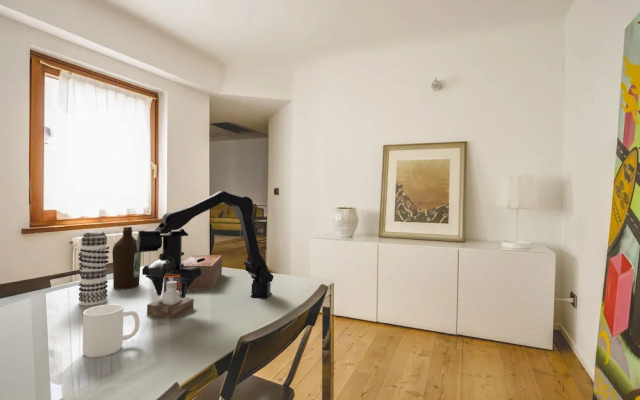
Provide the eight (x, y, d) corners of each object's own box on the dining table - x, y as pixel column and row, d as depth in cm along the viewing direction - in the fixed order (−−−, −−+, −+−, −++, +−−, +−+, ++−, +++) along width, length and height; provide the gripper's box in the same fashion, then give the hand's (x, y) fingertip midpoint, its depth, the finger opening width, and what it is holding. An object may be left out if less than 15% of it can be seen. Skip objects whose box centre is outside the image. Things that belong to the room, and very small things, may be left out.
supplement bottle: (173, 298, 125) (174, 268, 125) (160, 296, 126) (160, 267, 126) (183, 293, 131) (184, 265, 131) (170, 292, 132) (170, 264, 132)
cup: (83, 347, 83) (83, 307, 83) (137, 337, 90) (138, 300, 90) (81, 361, 76) (82, 317, 76) (140, 349, 83) (141, 308, 83)
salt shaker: (180, 309, 112) (180, 281, 112) (172, 313, 108) (172, 283, 108) (170, 308, 113) (170, 280, 113) (161, 311, 109) (162, 282, 109)
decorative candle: (111, 301, 119) (113, 232, 119) (80, 307, 112) (82, 233, 112) (104, 296, 125) (105, 230, 125) (74, 301, 119) (76, 231, 119)
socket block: (193, 310, 114) (193, 298, 114) (173, 320, 104) (174, 307, 104) (168, 307, 116) (168, 295, 116) (146, 317, 106) (147, 304, 106)
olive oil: (107, 290, 133) (108, 228, 133) (117, 283, 144) (118, 226, 143) (136, 289, 135) (137, 228, 135) (144, 282, 146) (145, 226, 146)
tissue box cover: (191, 275, 162) (191, 255, 162) (221, 275, 164) (222, 255, 164) (175, 290, 137) (175, 265, 137) (211, 289, 138) (212, 265, 138)
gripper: (129, 251, 104) (128, 301, 104) (181, 255, 100) (180, 307, 100) (154, 247, 115) (154, 291, 115) (202, 250, 111) (201, 296, 111)
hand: (171, 296), depth 110 cm, fingers open, 9 cm apart
